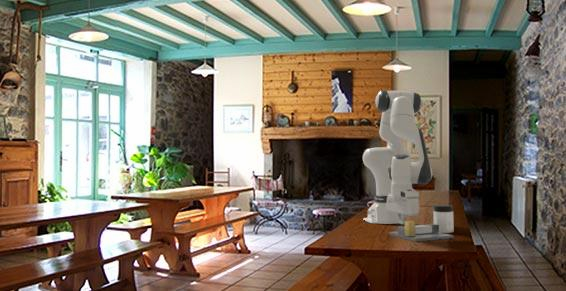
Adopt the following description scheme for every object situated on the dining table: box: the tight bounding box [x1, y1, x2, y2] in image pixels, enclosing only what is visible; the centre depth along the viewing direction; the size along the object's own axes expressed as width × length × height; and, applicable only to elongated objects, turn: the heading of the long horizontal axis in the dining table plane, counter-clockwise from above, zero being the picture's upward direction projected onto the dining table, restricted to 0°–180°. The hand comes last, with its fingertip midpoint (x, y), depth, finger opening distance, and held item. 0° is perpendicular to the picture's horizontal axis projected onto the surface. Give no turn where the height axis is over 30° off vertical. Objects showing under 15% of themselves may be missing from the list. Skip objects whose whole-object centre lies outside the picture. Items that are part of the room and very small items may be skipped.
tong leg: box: [415, 223, 439, 234], centre depth 239 cm, size 12×2×3 cm, turn 109°
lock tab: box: [404, 220, 416, 236], centre depth 232 cm, size 3×3×6 cm
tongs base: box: [397, 223, 433, 236], centre depth 239 cm, size 6×17×3 cm, turn 111°
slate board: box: [388, 230, 454, 242], centre depth 238 cm, size 20×19×1 cm
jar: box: [432, 204, 455, 234], centre depth 251 cm, size 9×8×12 cm
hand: (402, 224), depth 237 cm, fingers closed
